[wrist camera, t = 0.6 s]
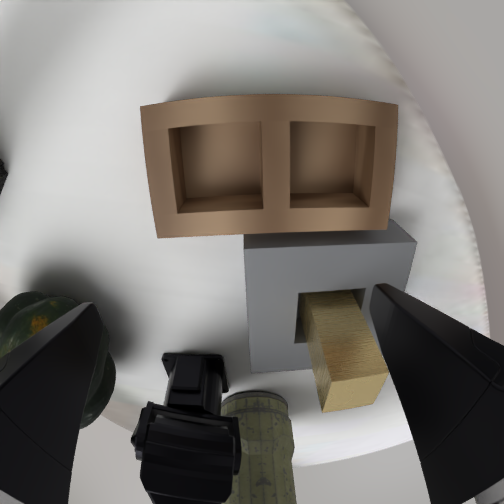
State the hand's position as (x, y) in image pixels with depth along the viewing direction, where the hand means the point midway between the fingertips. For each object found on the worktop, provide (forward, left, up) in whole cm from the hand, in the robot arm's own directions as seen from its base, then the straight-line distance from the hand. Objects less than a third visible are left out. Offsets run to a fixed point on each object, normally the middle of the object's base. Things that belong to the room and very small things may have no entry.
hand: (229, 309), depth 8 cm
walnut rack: (+2, -2, -13) cm, 13 cm away
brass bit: (-9, -6, -12) cm, 16 cm away
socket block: (-9, -6, -13) cm, 17 cm away
